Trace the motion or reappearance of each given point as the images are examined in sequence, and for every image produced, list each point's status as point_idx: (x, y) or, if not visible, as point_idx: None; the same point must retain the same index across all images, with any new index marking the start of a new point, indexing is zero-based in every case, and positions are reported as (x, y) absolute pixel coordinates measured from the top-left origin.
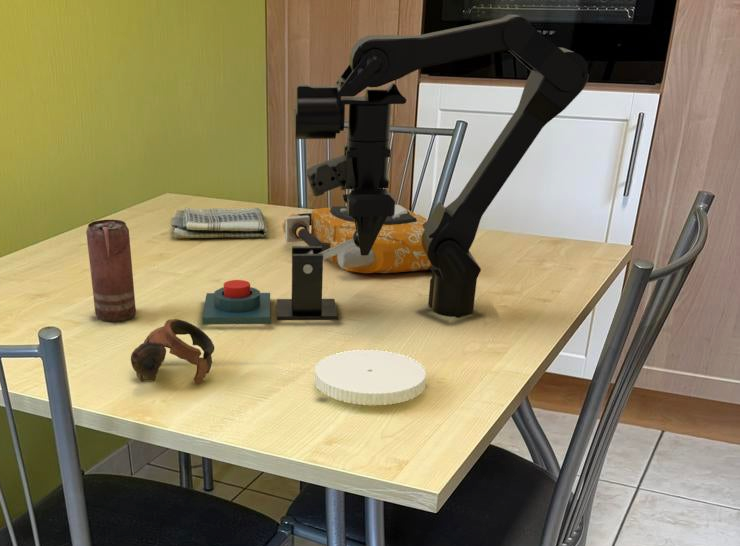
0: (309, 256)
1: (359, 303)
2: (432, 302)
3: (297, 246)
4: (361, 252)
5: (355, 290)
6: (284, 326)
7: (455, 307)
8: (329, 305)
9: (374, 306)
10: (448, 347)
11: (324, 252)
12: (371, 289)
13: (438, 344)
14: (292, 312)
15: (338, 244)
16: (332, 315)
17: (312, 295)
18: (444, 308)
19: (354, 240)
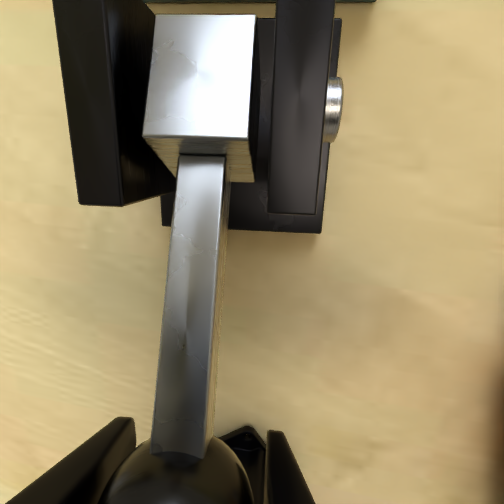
0: (68, 104)
1: (333, 300)
2: (248, 464)
3: (322, 2)
4: (107, 429)
5: (451, 305)
6: None
7: None
8: (256, 211)
9: (304, 333)
10: (48, 425)
11: (174, 223)
12: (449, 348)
13: (61, 412)
14: None
15: (203, 334)
16: (166, 212)
17: None
18: None
19: (141, 453)
